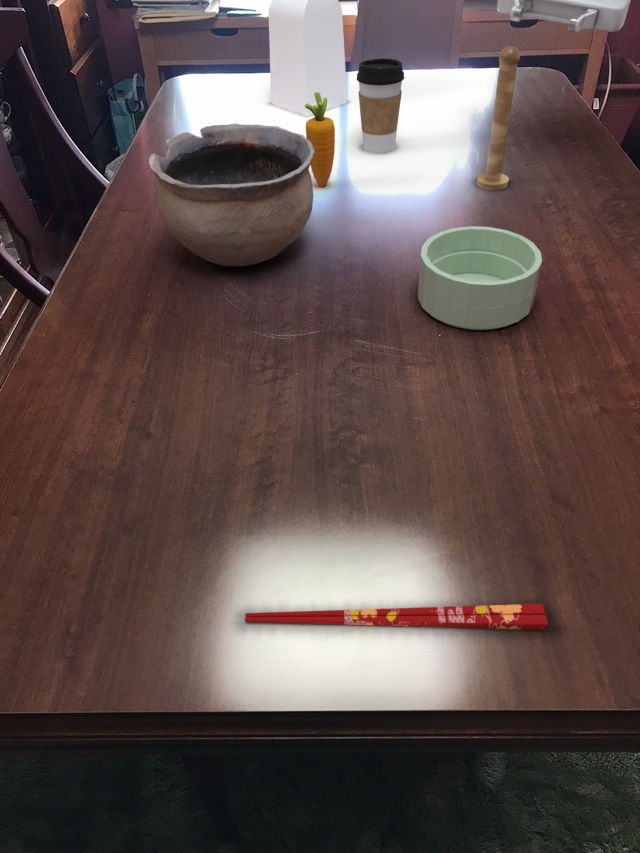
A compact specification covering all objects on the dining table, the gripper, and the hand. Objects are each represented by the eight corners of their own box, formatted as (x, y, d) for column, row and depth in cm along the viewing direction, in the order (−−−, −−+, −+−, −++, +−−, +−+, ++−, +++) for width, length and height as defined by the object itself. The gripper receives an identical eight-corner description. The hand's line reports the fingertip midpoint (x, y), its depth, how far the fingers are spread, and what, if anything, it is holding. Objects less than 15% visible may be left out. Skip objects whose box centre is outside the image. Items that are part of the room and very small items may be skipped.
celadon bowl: (485, 263, 97) (492, 216, 92) (556, 313, 87) (567, 264, 82) (396, 291, 92) (399, 243, 88) (460, 347, 83) (466, 296, 78)
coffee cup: (347, 152, 129) (347, 64, 119) (371, 137, 134) (372, 52, 124) (386, 160, 125) (389, 71, 115) (409, 145, 130) (413, 58, 120)
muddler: (495, 176, 118) (513, 39, 104) (514, 187, 115) (536, 47, 101) (470, 183, 117) (485, 45, 103) (488, 194, 113) (507, 53, 99)
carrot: (331, 195, 115) (329, 100, 105) (303, 192, 116) (298, 98, 106) (340, 183, 119) (338, 90, 108) (313, 180, 120) (309, 88, 110)
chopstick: (246, 613, 56) (244, 606, 56) (541, 609, 56) (543, 602, 55) (244, 634, 55) (242, 628, 54) (546, 631, 54) (549, 624, 54)
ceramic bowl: (222, 208, 113) (208, 113, 103) (342, 231, 105) (340, 131, 95) (139, 272, 98) (114, 168, 88) (272, 304, 91) (261, 195, 81)
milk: (271, 105, 150) (259, -37, 133) (310, 92, 156) (304, -46, 138) (308, 117, 143) (301, -30, 126) (347, 103, 149) (346, -40, 131)
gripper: (520, -41, 114) (483, -13, 107) (645, -22, 106) (614, 9, 99) (514, 1, 119) (478, 31, 112) (633, 22, 111) (602, 55, 104)
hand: (543, 21), depth 105 cm, fingers open, 8 cm apart
